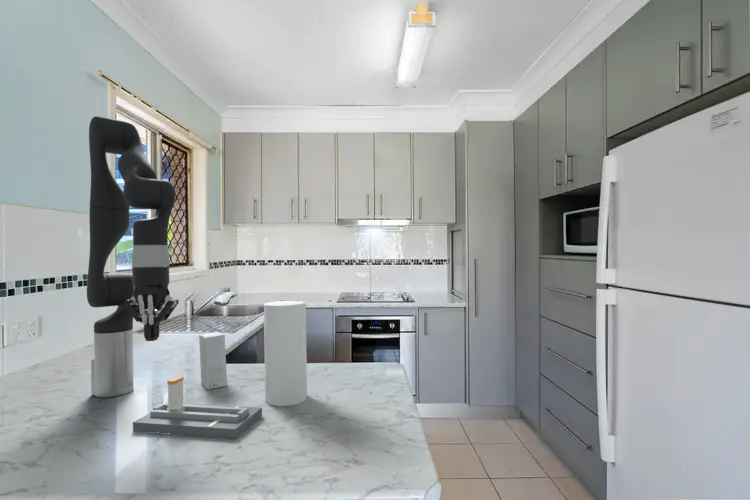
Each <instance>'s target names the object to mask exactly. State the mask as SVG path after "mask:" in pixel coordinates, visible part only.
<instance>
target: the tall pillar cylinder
mask: <svg viewBox="0 0 750 500" xmlns="http://www.w3.org/2000/svg"><path fill="white" fill-rule="evenodd" d="M306 303H307V302H306V301H304V300H303V301H302V300H279V301H269V302H265V303H264V304H263V325H264V327H263V328H264V330H263V333H264V334H263V335H264V338H263V339H264V399H265V403H266V404H267V405H270V406H273V407H275V406H276V407H288V406H289V407H290V406H294V405H298V404H301V403H303V402H305V401H306V400H307V399H308V377H307V376H308V374H307V373H308V371H307V369H308V368H307V367H308V366H307V365H308V364H307V304H306Z"/></svg>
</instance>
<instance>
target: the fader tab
mask: <svg viewBox="0 0 750 500" xmlns="http://www.w3.org/2000/svg"><path fill="white" fill-rule="evenodd" d="M184 380H185V379H184V376H176V377H173V378H171V379H169V380H167V385H168V386H167V387H168V389H167V390H168V392H167V395H168V397H167V398H168V399H167V401H168V402H167V403H168V408H167V410H170V411H185V405H183V403H184Z"/></svg>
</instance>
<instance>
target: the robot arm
mask: <svg viewBox="0 0 750 500" xmlns="http://www.w3.org/2000/svg"><path fill="white" fill-rule="evenodd" d="M88 143H89V144H88V146H89V147H88V149H89V161H90V190H89V191H90V194H89V218H88V219H89V259H88V271H87V278H86V279H87V280H86V299H87V302H88V304H89V305H88V306H90V307H91V308H105V307H106V308H107V307H117V308H116V310H115V311H114V312H112V313H111V314H109V315H108V316H105V317H103V318H100V319H98V320H97V321H95V322H94V324H93V350H94V351H93V353H94V355H93V358H92V359H91V361H90V374H91V375H90V377H91V378H90V379H91V381H90V383H91V384H90V386H91V391H90V393H91V395H93V396H94V397H96V398H112V397H118V396H123V395H126V394H128V393H130V392H133V391H134V389H135V387H134V321H136V322H138V323H142V325H143V337H144V339H145V341H146V342H154V341H157V340H158V339H159V337H160V324H161V323H163V322H166V321H167V320H168V319H169V318H170V316H171V315H172V313H173V312H174V310H175V309H176V307H178V304H179V300H178V299H174V298H173V296H171V295H170V294H171V292H170V290H169V288H168V287H169V284H170V252H169V246H168V243H169V242H168V237H169V236H168V228H169V223H170V218H171V214H172V211H173V208H174V205H175V202H176V196H177V195H176V190H175V187H174V186H173V183H171V182H170V181H169V180H165V179H158V177H157V174H156V171H155V170H154V168H153V167H152V165H151V164H150V162H149V160H148V159H147V155H146V154H145V150H144V145H143V143H142V138H141V136H140V133H139V130H138V129H137V127H136V125H134V124H133V123H131V122H129V121H126V120H121V119H114V118H111V117H104V116H99V115H96V116H93V117H92V118H91V120H90V122H89V127H88ZM107 153H108V154H113V155H114V154H115V155H120V157H119V158H118V160H117V168H118V172H119V174H120V176H121V178H122V180H123V182H124V186H123V189H122V188H121V186H120V184H119V183H118V181H116V178H115V177H114V176H113V174H112V172H111V170H110V167H109V164H108V161H107ZM130 207H131V208H133V209H141V210H142V209H143V210H155V214H154V215H153V217H150V218H149V217H148V218H144V219H137V220H136V221H135V222H133V224H132V242H133V243H132V244H133V246H132V253H131V256H132V257H131V268H132V269H131V272H132V273H130V272H105V267H106V264H107V261H108V259H109V256H110V255H111V253H112V252H113V251H114V249H115V248H116V246H117V244H119V242H120V241H121V240H122V238H123V237H124V236H125V234H126V232H127V231H128V229H129V227H130Z"/></svg>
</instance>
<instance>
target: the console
mask: <svg viewBox="0 0 750 500" xmlns="http://www.w3.org/2000/svg"><path fill="white" fill-rule="evenodd" d="M183 405H185V411H170V410H167V408H168V402H166V403H160V404H158V405H157V406H154V407H152V410H151V411H149V413H148V414H146V415H144V416H142V417H140V418H138V419H136V420H134V421H132V432H133V433H134V432H136V433H146V432H159V433H158V434H160V433H170V434H169V435H174V434H182V435H181V436H187V435H192V436H191V437H201V436H202V438H204V437H205V438H216V439H218V438H219V439H231V440H237V438H238V437H240V436H241V435H242V434H243V433H244V432H246V431H247V430H248V429H249V428H250V427H251V426H253V425H254V424H255V423H256V422H257V421H258V420H259V419H261V418H262V417H263V407H260V406H259V407H257V406H238V405H224V404H223V405H222V404H221V405H219V404H201V403H187V402H183Z"/></svg>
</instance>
